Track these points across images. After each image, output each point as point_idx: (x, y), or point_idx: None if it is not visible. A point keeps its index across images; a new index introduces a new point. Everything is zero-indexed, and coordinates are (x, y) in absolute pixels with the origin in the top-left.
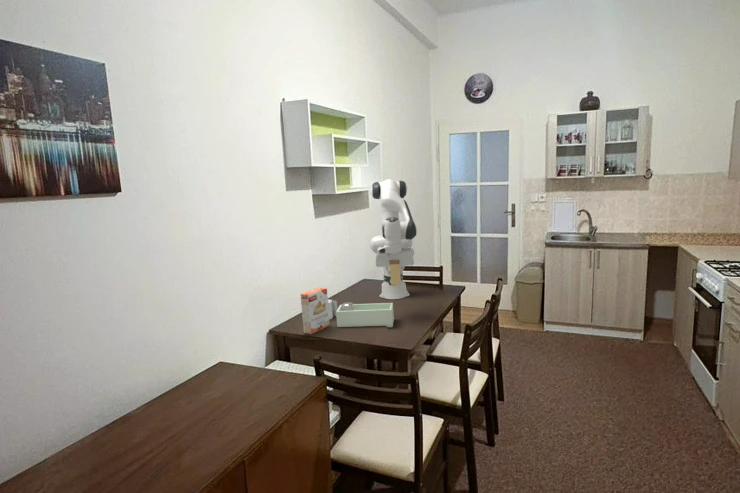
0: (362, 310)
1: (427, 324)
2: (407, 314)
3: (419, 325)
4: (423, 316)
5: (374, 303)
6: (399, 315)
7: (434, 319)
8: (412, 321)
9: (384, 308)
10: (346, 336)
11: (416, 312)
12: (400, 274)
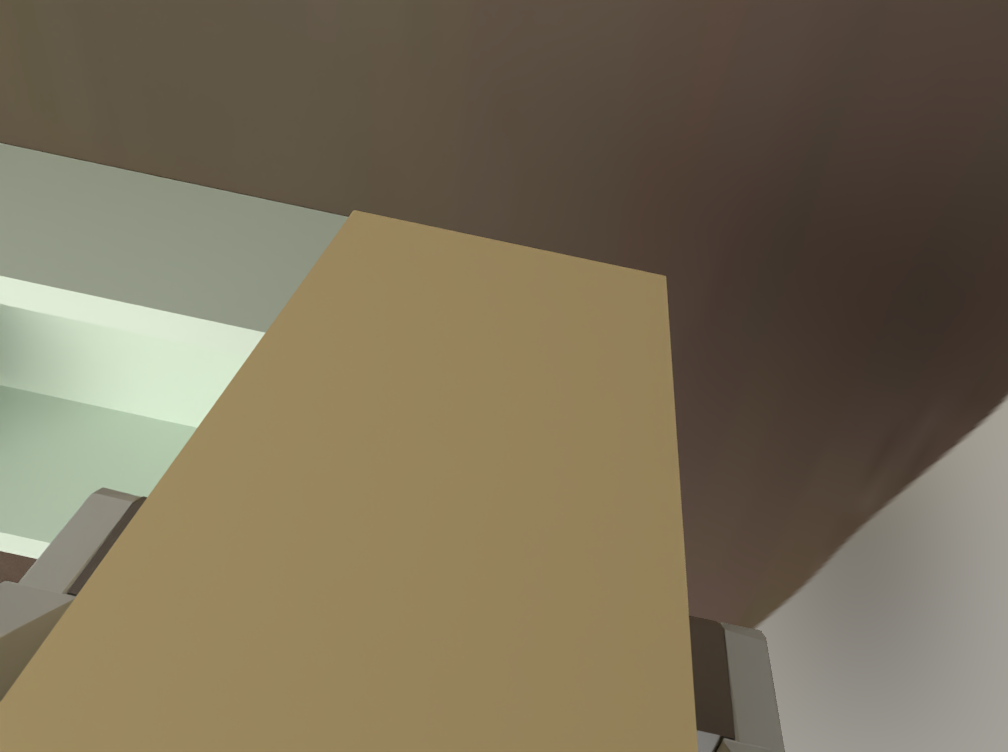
0: (6, 541)
1: (831, 524)
2: (715, 86)
3: (734, 523)
4: (913, 255)
5: (112, 301)
6: (582, 97)
7: (994, 408)
8: (697, 390)
9: None
10: None
11: (894, 24)
12: (673, 446)
